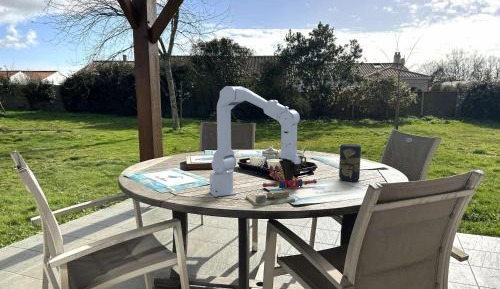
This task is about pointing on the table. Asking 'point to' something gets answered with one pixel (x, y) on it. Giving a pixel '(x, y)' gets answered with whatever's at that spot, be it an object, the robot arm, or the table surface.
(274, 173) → the toy
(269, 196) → the swing latch
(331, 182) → the table surface
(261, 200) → the door board
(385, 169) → the table surface
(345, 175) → the canister
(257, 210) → the table surface
